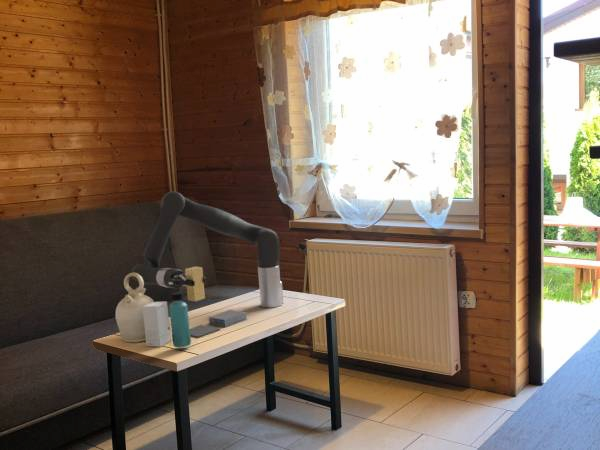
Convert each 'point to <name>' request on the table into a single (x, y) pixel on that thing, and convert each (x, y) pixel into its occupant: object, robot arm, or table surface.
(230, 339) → the table surface
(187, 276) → the tall wooden pillar
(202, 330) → the flat gray metal plate
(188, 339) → the beverage bottle
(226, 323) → the grey metal rectangular block
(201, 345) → the table surface
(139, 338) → the jug
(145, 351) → the table surface
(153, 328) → the skincare box
